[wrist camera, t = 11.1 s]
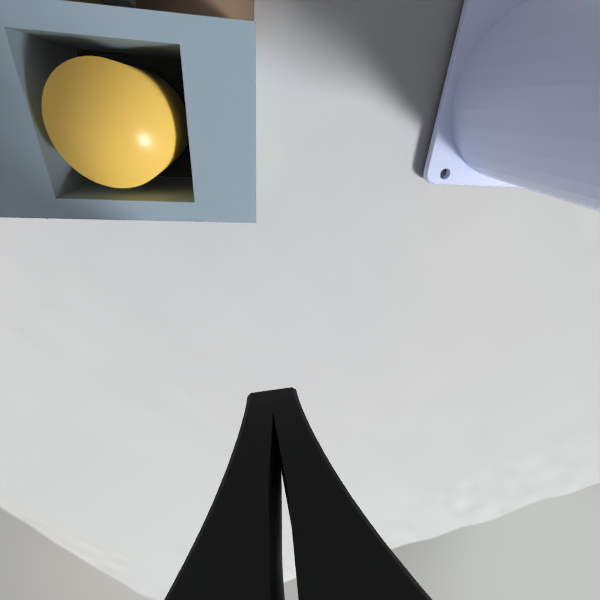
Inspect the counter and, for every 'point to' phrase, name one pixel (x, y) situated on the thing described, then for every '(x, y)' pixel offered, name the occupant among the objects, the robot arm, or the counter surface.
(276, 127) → the counter surface
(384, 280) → the counter surface
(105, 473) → the counter surface
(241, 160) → the cabinet
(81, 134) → the button
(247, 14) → the rail board
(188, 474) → the counter surface
